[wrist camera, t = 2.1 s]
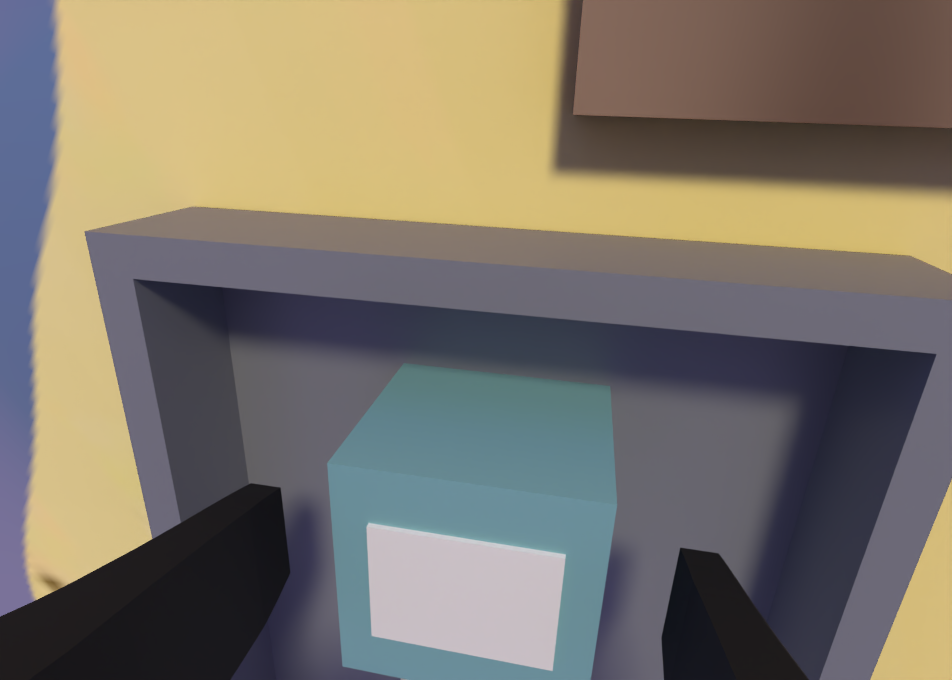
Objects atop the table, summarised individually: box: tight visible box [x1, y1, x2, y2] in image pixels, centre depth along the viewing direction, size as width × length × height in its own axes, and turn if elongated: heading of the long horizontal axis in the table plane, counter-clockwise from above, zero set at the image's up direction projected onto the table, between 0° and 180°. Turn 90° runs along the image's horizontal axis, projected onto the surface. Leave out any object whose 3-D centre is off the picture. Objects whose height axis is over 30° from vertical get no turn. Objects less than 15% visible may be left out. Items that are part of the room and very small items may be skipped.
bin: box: [84, 207, 952, 680], centre depth 14 cm, size 15×20×3 cm
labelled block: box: [327, 363, 617, 680], centre depth 11 cm, size 4×4×4 cm
